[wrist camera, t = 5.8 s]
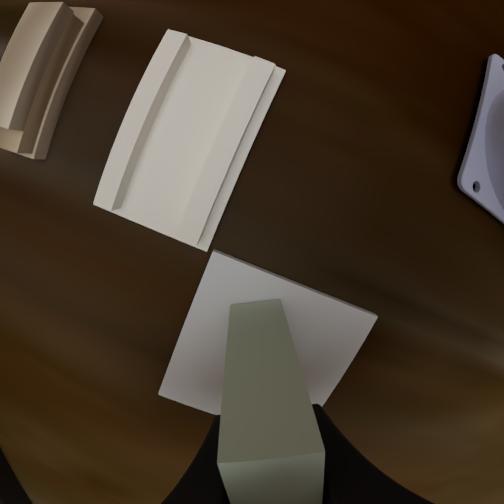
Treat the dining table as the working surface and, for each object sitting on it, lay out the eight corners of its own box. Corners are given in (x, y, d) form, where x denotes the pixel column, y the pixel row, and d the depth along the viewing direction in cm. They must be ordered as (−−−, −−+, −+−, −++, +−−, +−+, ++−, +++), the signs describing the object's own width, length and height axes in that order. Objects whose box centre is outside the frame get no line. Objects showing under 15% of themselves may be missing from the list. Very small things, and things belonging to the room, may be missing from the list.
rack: (284, 74, 11) (289, 61, 10) (208, 248, 13) (203, 258, 11) (170, 35, 11) (162, 20, 9) (98, 203, 12) (82, 206, 11)
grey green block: (280, 298, 13) (325, 451, 5) (289, 411, 14) (317, 555, 6) (230, 304, 13) (217, 463, 5) (248, 416, 14) (253, 562, 6)
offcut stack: (105, 18, 10) (74, -13, 7) (48, 159, 12) (2, 159, 9) (67, 15, 10) (34, -11, 7) (14, 148, 12) (-31, 146, 8)
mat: (374, 313, 14) (377, 316, 13) (299, 431, 15) (300, 437, 15) (213, 248, 13) (212, 250, 12) (159, 389, 14) (158, 394, 14)
